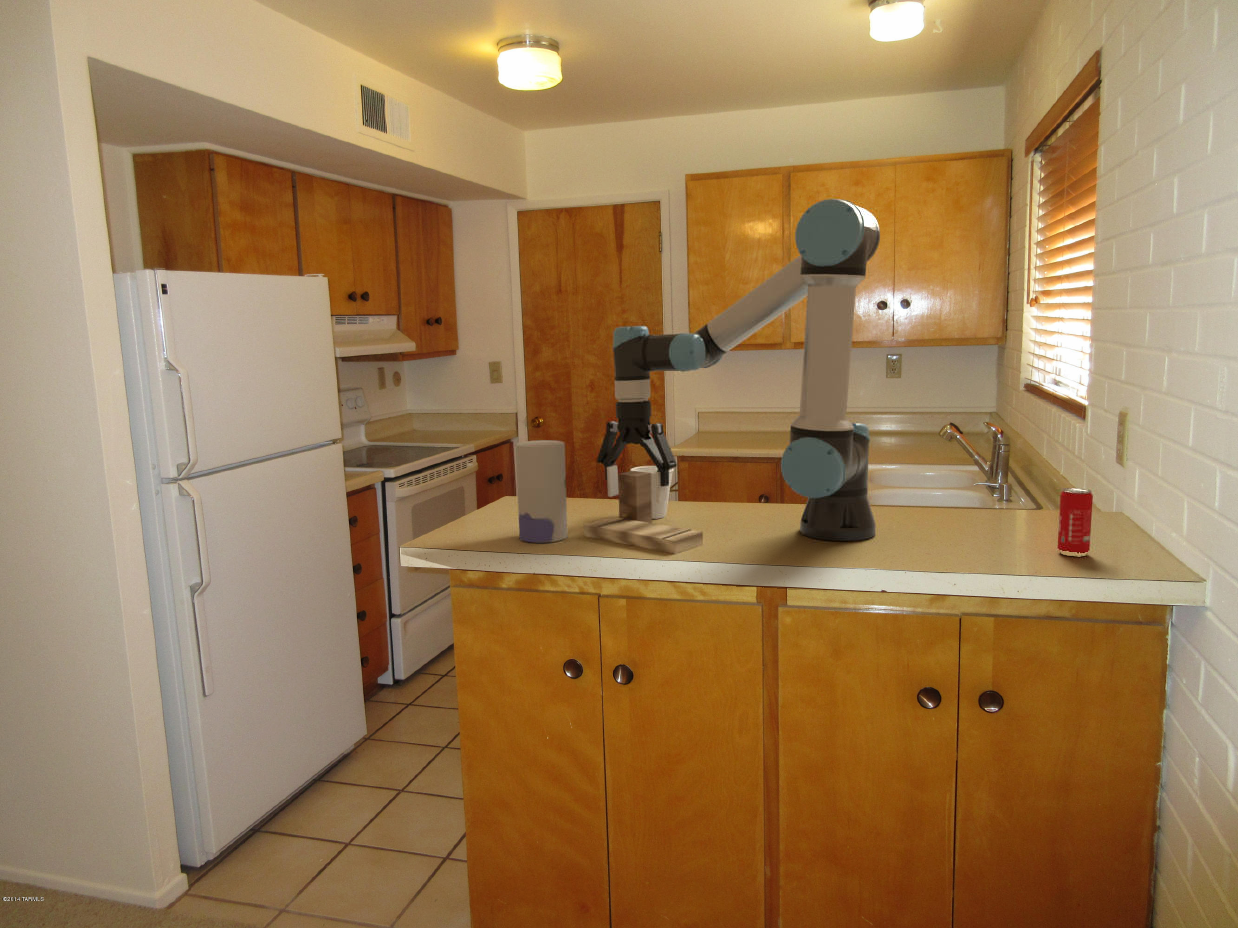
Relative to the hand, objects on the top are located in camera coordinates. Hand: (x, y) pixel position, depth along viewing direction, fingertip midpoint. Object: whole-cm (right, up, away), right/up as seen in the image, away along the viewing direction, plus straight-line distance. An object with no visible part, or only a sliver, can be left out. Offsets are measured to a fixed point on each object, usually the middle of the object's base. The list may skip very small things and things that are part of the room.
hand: (637, 498), depth 184 cm
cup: (+4, -5, +12) cm, 14 cm away
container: (-20, -8, -6) cm, 22 cm away
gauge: (0, -6, +1) cm, 7 cm away
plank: (+1, -8, -9) cm, 12 cm away
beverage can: (+80, -9, -27) cm, 85 cm away
